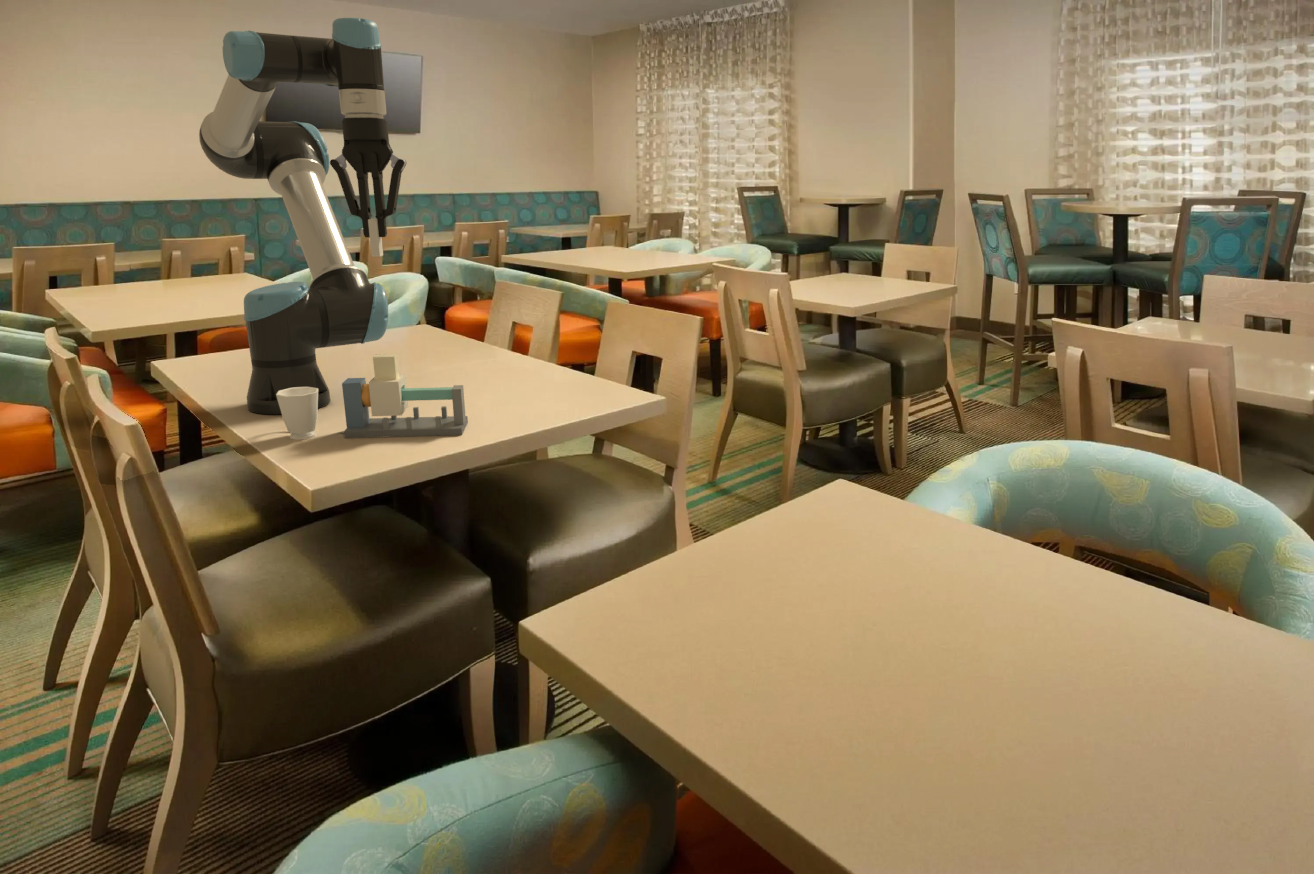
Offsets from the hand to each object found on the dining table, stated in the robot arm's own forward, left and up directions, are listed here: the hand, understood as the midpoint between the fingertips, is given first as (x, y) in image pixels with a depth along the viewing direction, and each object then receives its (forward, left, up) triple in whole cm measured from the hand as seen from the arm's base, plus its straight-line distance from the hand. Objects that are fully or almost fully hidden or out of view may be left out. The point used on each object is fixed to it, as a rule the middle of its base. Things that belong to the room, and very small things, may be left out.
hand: (377, 255), depth 158 cm
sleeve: (+12, -4, -26) cm, 29 cm away
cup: (+4, -18, -30) cm, 35 cm away
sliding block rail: (+13, -2, -29) cm, 32 cm away
